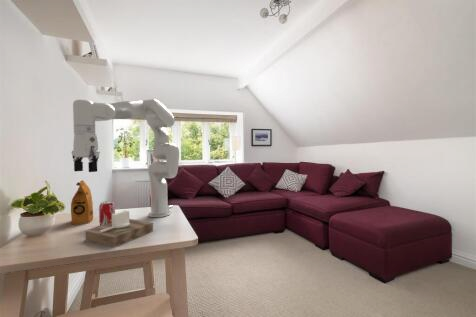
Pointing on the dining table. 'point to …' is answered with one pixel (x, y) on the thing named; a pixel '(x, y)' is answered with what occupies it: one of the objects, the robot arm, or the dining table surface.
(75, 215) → the coffee package
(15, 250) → the dining table surface
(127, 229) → the flat wooden block
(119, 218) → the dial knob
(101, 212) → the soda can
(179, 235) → the dining table surface
